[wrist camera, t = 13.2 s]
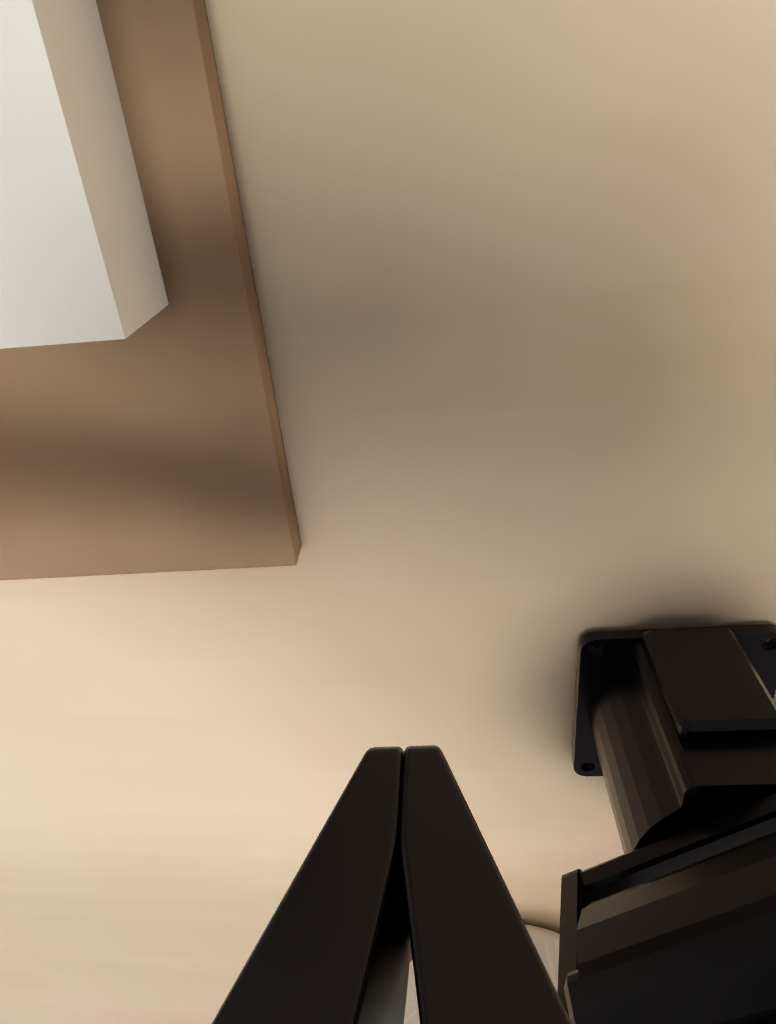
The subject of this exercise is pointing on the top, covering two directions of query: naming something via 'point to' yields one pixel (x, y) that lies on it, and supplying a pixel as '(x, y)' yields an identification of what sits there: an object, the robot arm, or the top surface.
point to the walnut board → (155, 360)
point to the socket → (68, 185)
